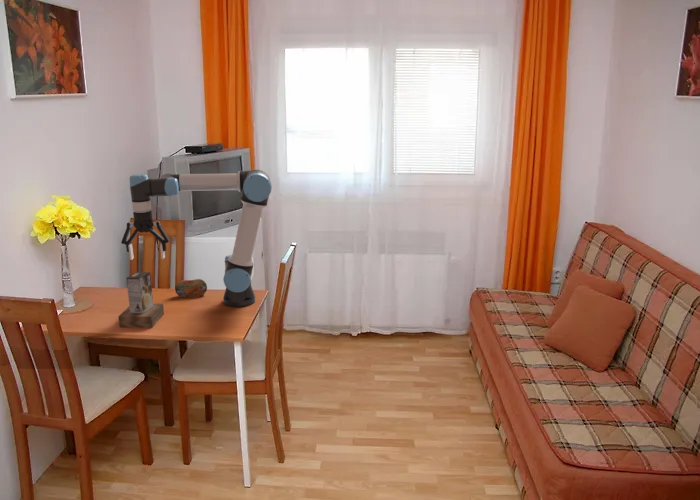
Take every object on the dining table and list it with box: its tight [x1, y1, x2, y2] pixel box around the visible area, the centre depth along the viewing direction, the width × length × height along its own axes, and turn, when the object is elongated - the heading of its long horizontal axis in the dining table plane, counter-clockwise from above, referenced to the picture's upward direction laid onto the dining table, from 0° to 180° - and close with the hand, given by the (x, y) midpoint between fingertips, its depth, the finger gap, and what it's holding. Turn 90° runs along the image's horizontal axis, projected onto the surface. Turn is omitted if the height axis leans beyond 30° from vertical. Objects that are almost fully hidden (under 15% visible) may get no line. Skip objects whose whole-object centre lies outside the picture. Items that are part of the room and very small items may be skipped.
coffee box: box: [126, 271, 154, 314], centre depth 255 cm, size 9×6×16 cm
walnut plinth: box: [117, 303, 165, 329], centre depth 258 cm, size 14×16×5 cm
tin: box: [174, 278, 208, 298], centre depth 290 cm, size 15×3×8 cm, turn 101°
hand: (147, 258), depth 257 cm, fingers open, 13 cm apart
